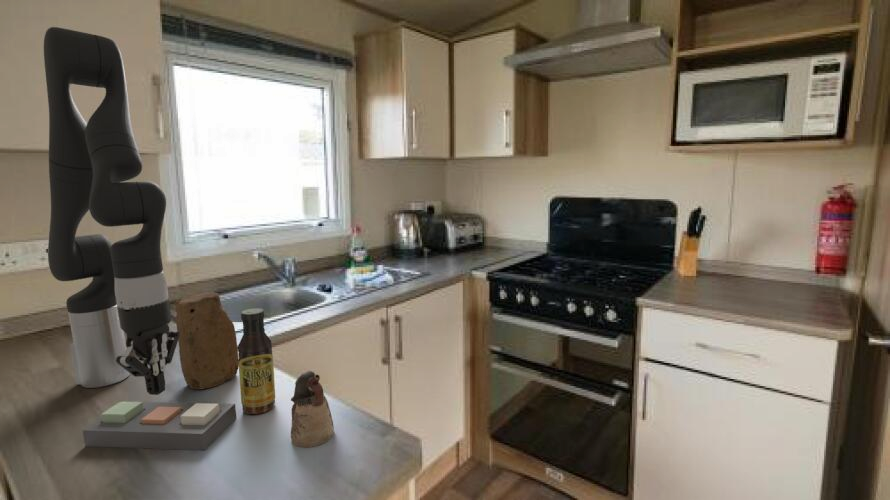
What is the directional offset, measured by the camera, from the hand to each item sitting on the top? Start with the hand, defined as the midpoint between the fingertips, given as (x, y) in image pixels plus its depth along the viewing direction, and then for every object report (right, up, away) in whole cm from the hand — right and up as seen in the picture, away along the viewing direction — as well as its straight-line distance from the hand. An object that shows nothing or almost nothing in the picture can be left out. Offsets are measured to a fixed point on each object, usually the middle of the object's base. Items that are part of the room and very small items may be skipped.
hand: (156, 392), depth 83 cm
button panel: (+1, -7, +1) cm, 8 cm away
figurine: (+28, -7, -1) cm, 29 cm away
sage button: (-7, -5, +2) cm, 9 cm away
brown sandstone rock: (0, -4, +21) cm, 22 cm away
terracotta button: (0, -6, +1) cm, 6 cm away
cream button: (+8, -5, 0) cm, 9 cm away
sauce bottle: (+15, -6, +9) cm, 18 cm away
